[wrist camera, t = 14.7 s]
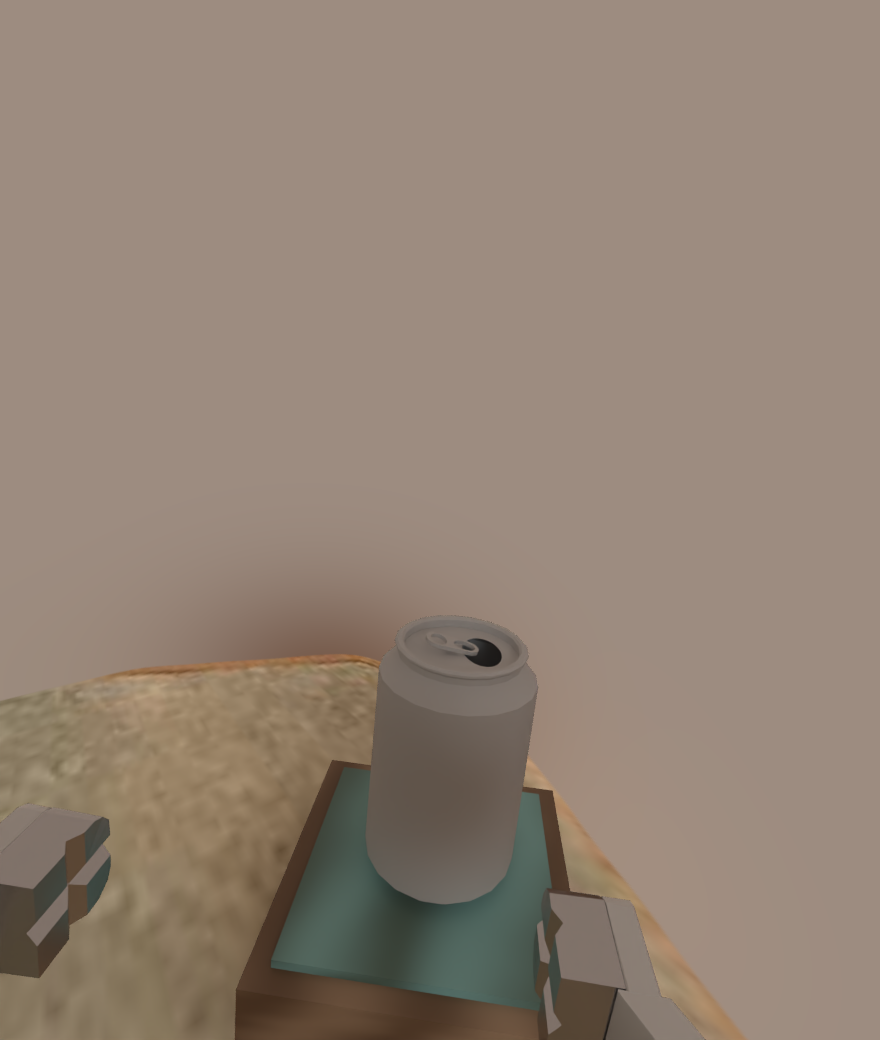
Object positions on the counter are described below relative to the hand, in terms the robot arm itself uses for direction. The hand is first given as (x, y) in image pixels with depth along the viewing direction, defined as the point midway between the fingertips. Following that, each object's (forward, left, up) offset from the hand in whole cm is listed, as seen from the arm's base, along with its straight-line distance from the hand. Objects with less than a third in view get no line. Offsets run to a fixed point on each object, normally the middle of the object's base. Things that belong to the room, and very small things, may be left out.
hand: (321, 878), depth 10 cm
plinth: (+2, +15, -19) cm, 24 cm away
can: (+2, +16, -14) cm, 21 cm away
